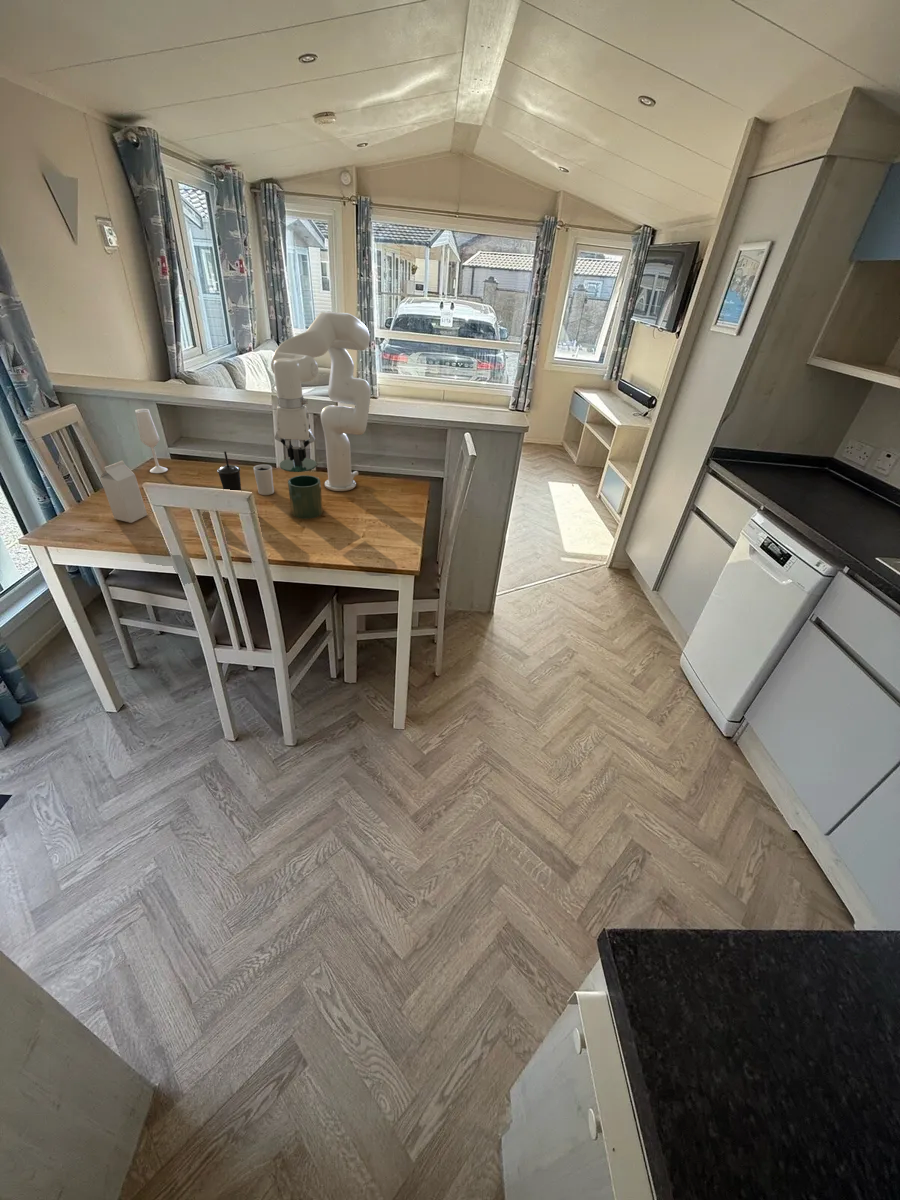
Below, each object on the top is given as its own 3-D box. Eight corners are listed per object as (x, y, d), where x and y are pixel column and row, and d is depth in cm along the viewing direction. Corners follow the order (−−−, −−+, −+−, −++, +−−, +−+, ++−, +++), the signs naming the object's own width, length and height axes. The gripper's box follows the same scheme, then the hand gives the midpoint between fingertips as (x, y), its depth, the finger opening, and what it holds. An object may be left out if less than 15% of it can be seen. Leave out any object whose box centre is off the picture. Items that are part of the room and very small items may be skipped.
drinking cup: (239, 510, 183) (229, 456, 171) (220, 507, 184) (208, 453, 172) (250, 502, 189) (241, 449, 178) (231, 499, 190) (221, 447, 179)
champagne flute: (170, 467, 211) (154, 408, 198) (163, 473, 206) (147, 413, 192) (153, 466, 211) (137, 407, 197) (146, 472, 205) (129, 412, 192)
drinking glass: (253, 493, 196) (249, 468, 190) (265, 487, 201) (261, 463, 195) (267, 496, 194) (263, 471, 188) (278, 490, 199) (275, 466, 193)
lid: (297, 458, 176) (295, 439, 172) (324, 466, 171) (322, 446, 167) (272, 468, 167) (269, 448, 163) (299, 476, 163) (296, 456, 159)
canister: (306, 504, 191) (303, 472, 183) (329, 512, 186) (326, 480, 179) (285, 514, 183) (280, 481, 175) (308, 522, 178) (304, 489, 171)
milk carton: (147, 515, 175) (131, 462, 164) (131, 523, 170) (112, 469, 159) (131, 511, 177) (114, 458, 166) (114, 519, 171) (95, 465, 160)
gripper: (319, 400, 160) (324, 456, 171) (267, 397, 160) (276, 454, 170) (314, 407, 154) (319, 465, 165) (260, 403, 154) (269, 462, 164)
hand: (297, 458), depth 168 cm, fingers closed on lid, 2 cm apart
